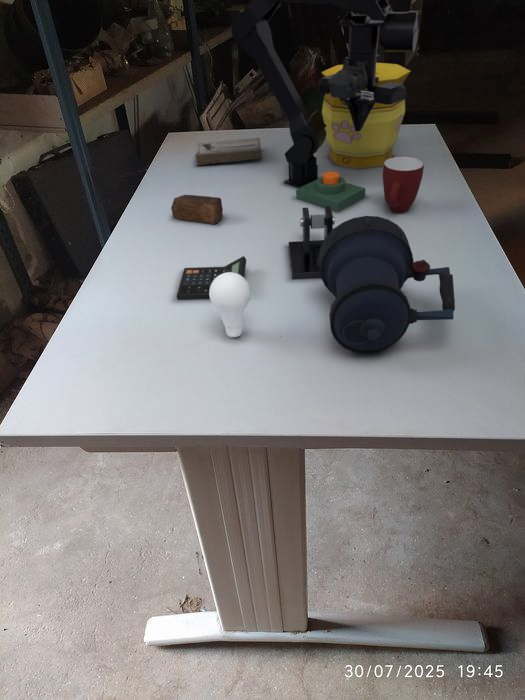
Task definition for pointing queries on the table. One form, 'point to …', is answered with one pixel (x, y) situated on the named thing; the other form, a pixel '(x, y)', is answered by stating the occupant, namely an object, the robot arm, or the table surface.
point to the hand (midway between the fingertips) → (358, 130)
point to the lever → (317, 221)
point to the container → (377, 130)
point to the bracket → (308, 248)
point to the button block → (330, 194)
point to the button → (330, 178)
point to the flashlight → (375, 283)
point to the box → (228, 151)
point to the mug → (401, 182)
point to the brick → (197, 208)
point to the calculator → (205, 279)
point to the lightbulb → (230, 300)
